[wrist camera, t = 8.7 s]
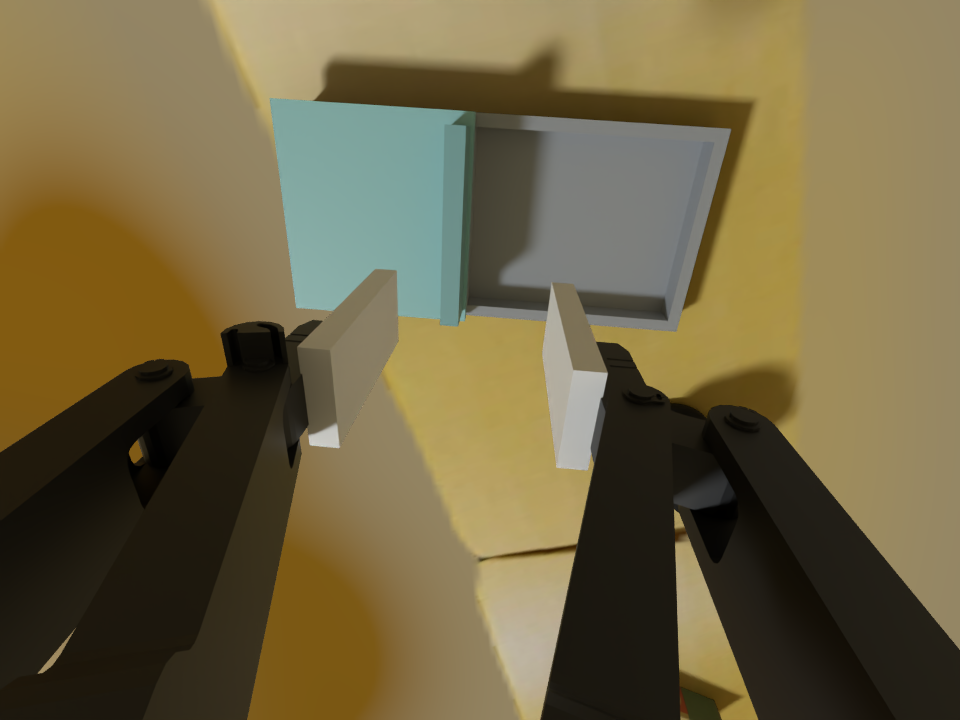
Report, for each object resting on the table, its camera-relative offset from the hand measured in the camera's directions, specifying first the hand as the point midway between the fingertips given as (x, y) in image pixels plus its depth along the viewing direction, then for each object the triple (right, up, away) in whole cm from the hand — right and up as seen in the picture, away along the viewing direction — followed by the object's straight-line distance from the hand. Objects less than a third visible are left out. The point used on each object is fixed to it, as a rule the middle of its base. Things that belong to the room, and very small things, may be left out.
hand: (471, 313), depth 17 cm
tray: (+2, +9, +18) cm, 20 cm away
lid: (-7, +8, +15) cm, 19 cm away
